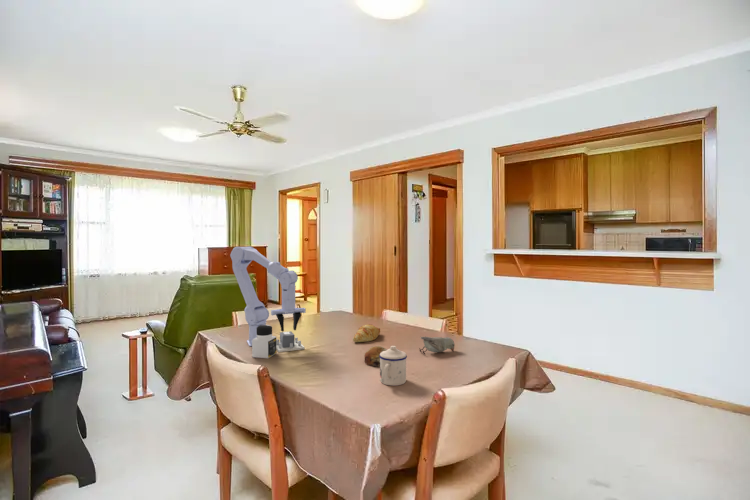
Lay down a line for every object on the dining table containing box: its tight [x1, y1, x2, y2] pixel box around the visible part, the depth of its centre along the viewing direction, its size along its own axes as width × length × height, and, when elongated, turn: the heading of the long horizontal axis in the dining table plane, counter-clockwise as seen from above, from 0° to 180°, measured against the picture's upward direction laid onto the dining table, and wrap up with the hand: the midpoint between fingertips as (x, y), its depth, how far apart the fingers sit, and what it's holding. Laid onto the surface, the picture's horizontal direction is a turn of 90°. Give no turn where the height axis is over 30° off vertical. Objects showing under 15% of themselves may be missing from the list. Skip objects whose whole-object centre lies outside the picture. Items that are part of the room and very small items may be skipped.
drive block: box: [279, 330, 296, 348], centre depth 170 cm, size 7×5×5 cm
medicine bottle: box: [251, 324, 277, 359], centre depth 158 cm, size 7×7×12 cm
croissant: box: [352, 323, 381, 343], centre depth 185 cm, size 21×10×8 cm, turn 148°
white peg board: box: [276, 337, 305, 353], centre depth 170 cm, size 12×11×3 cm
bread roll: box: [364, 345, 388, 367], centre depth 150 cm, size 10×10×8 cm
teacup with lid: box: [379, 345, 408, 387], centre depth 129 cm, size 12×9×12 cm
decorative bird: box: [418, 336, 456, 356], centre depth 163 cm, size 5×16×8 cm, turn 112°
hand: (288, 330), depth 170 cm, fingers open, 5 cm apart
